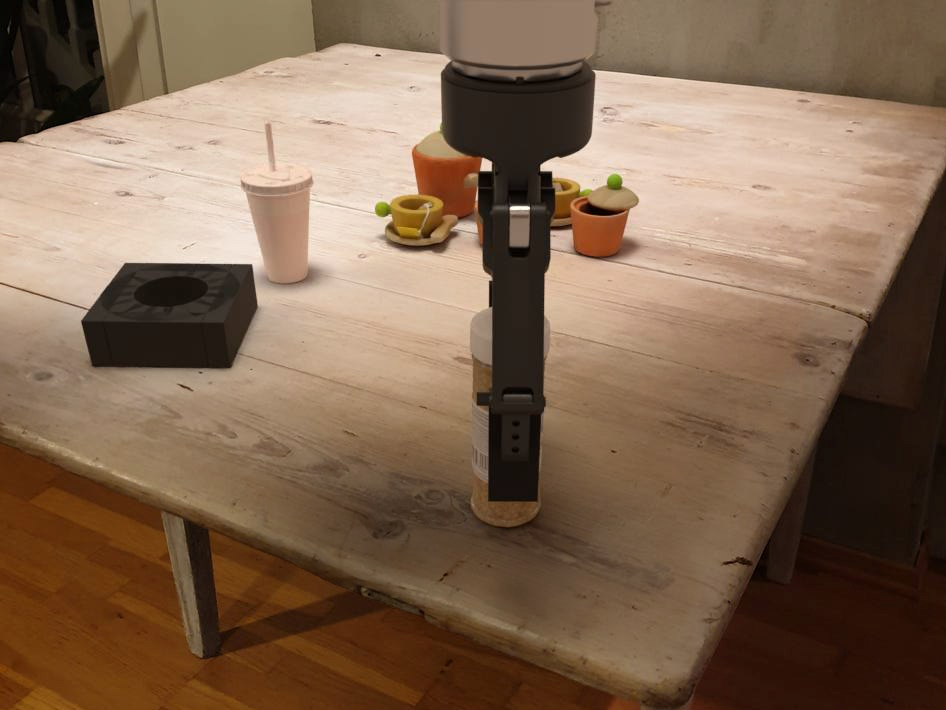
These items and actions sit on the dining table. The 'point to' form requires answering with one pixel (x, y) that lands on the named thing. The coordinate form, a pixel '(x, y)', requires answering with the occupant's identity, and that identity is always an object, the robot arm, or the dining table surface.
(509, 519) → the sprinkles bottle
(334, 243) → the dining table surface
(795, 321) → the dining table surface
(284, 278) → the smoothie
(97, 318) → the socket pad
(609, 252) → the toy tea set
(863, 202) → the dining table surface
